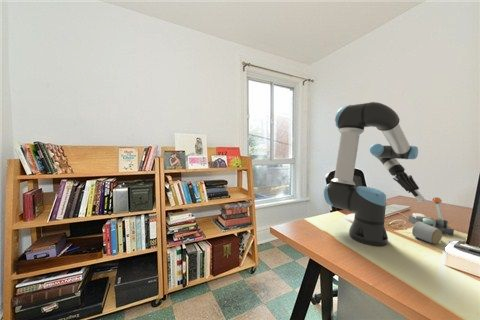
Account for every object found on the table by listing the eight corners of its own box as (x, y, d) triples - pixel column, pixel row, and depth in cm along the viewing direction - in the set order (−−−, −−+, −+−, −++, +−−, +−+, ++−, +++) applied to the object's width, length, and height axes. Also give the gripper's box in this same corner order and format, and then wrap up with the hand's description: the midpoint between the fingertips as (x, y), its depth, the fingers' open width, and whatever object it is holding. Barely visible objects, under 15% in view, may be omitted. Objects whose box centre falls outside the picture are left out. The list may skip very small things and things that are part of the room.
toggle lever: (435, 224, 101) (430, 197, 104) (440, 223, 102) (434, 197, 105) (443, 225, 98) (437, 197, 100) (448, 224, 99) (442, 197, 101)
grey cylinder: (432, 246, 86) (434, 229, 85) (410, 237, 93) (412, 222, 93) (446, 242, 89) (448, 226, 89) (424, 234, 97) (426, 219, 96)
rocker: (415, 218, 110) (416, 216, 109) (412, 215, 112) (413, 213, 112) (425, 219, 108) (425, 216, 108) (421, 216, 111) (422, 213, 111)
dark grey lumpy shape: (426, 232, 99) (427, 220, 99) (408, 220, 115) (409, 210, 114) (453, 235, 97) (454, 223, 96) (431, 222, 112) (432, 212, 111)
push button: (425, 224, 101) (426, 220, 101) (420, 221, 105) (421, 217, 105) (435, 225, 100) (435, 221, 100) (429, 222, 104) (430, 218, 104)
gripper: (390, 164, 119) (420, 198, 104) (406, 163, 122) (437, 197, 108) (381, 171, 124) (408, 205, 110) (397, 170, 128) (424, 203, 113)
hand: (422, 201), depth 109 cm, fingers closed
